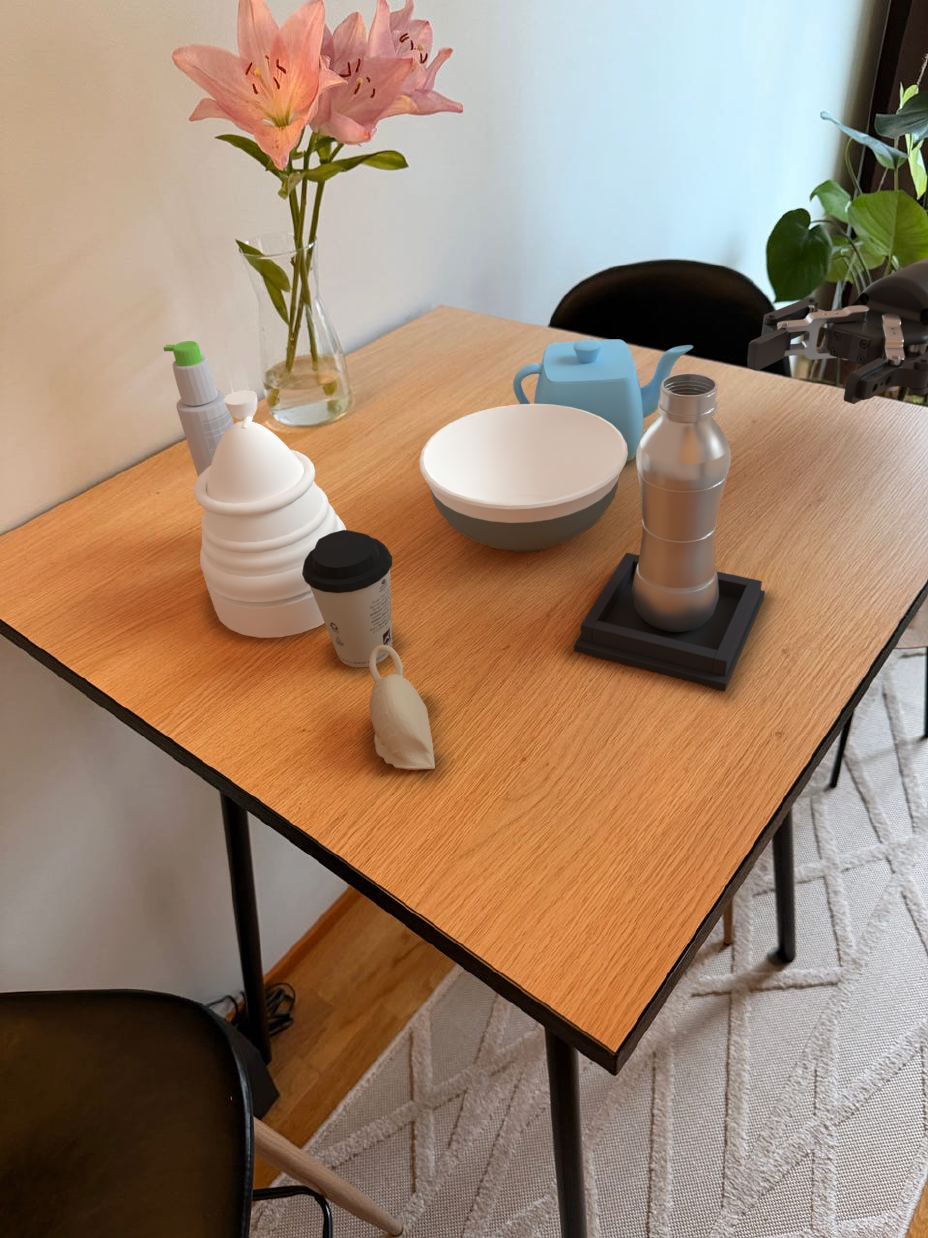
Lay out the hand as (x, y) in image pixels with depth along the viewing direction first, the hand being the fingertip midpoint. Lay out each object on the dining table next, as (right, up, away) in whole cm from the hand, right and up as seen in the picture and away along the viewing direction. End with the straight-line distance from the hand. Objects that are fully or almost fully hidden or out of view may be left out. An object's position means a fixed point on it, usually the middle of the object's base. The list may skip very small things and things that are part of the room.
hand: (798, 373), depth 67 cm
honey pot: (-41, -16, +15) cm, 46 cm away
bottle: (-46, -11, +22) cm, 52 cm away
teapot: (-10, 0, +30) cm, 32 cm away
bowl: (-19, -9, +20) cm, 29 cm away
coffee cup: (-33, -21, +8) cm, 40 cm away
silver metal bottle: (-8, -18, +6) cm, 21 cm away
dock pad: (-8, -19, +7) cm, 21 cm away
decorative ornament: (-29, -27, 0) cm, 40 cm away
